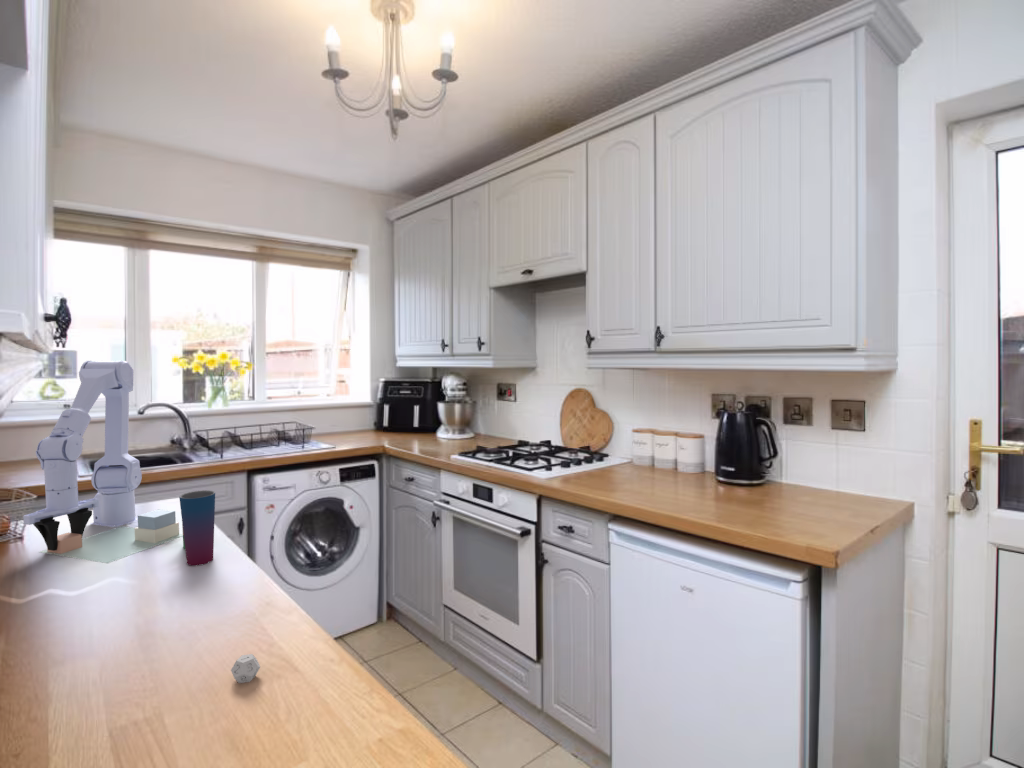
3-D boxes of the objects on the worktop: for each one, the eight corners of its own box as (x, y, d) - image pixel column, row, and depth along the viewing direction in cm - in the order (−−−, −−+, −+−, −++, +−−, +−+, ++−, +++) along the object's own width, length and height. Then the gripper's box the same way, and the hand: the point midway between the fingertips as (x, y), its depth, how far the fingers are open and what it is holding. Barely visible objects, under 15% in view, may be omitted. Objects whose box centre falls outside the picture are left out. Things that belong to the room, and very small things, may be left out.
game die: (230, 676, 76) (229, 656, 76) (259, 668, 78) (258, 648, 78) (232, 689, 73) (231, 668, 73) (261, 681, 75) (261, 660, 75)
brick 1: (47, 551, 123) (46, 538, 122) (68, 544, 127) (68, 532, 127) (61, 553, 121) (60, 540, 121) (82, 546, 126) (81, 534, 125)
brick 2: (138, 527, 130) (137, 515, 130) (159, 520, 135) (158, 509, 135) (154, 529, 128) (154, 517, 128) (175, 522, 133) (175, 511, 133)
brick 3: (134, 540, 130) (134, 528, 130) (159, 531, 136) (159, 520, 136) (154, 543, 128) (154, 530, 128) (179, 534, 134) (178, 522, 134)
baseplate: (38, 554, 122) (38, 551, 122) (121, 528, 141) (121, 526, 140) (107, 565, 116) (107, 563, 116) (185, 536, 134) (185, 534, 134)
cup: (222, 560, 118) (219, 493, 117) (187, 570, 113) (184, 500, 112) (211, 553, 123) (209, 488, 122) (177, 561, 118) (175, 494, 117)
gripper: (37, 497, 115) (40, 559, 116) (106, 481, 129) (109, 537, 130) (15, 494, 117) (19, 555, 118) (85, 479, 131) (88, 534, 132)
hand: (64, 545), depth 124 cm, fingers closed on brick 1, 4 cm apart
